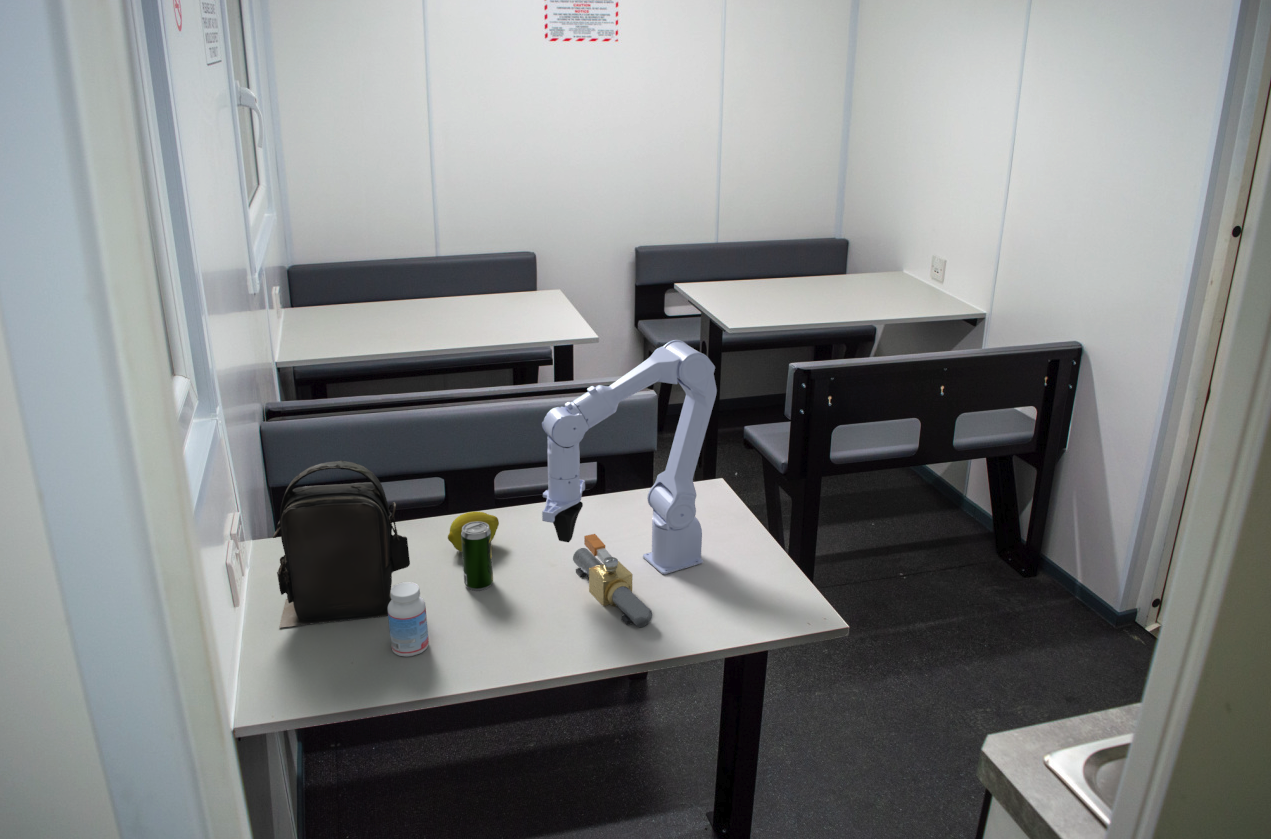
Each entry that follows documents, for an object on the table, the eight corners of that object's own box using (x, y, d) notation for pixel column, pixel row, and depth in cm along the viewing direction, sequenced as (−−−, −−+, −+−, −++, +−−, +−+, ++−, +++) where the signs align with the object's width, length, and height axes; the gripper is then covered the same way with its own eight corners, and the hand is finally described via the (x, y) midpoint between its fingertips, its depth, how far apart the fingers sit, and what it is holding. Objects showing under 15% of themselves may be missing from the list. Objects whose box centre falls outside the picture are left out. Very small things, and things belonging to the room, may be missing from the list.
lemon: (453, 564, 175) (451, 527, 172) (442, 546, 181) (440, 511, 178) (506, 552, 179) (505, 516, 176) (494, 535, 186) (492, 500, 183)
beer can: (471, 595, 164) (467, 537, 160) (459, 582, 169) (456, 525, 164) (498, 586, 167) (495, 529, 163) (486, 574, 171) (483, 518, 167)
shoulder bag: (414, 586, 167) (401, 448, 157) (414, 613, 159) (401, 470, 149) (286, 600, 162) (265, 459, 152) (279, 629, 154) (256, 481, 144)
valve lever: (620, 571, 163) (620, 560, 162) (606, 574, 162) (607, 563, 161) (596, 543, 172) (595, 533, 171) (583, 546, 171) (583, 536, 170)
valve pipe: (594, 563, 176) (594, 539, 175) (658, 624, 157) (658, 598, 155) (567, 570, 174) (567, 546, 172) (628, 634, 154) (628, 607, 152)
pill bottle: (431, 653, 148) (426, 595, 144) (393, 661, 146) (387, 602, 142) (426, 633, 153) (421, 576, 149) (389, 640, 151) (383, 582, 147)
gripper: (560, 454, 168) (561, 519, 173) (525, 485, 155) (528, 554, 160) (595, 460, 166) (595, 525, 171) (562, 492, 153) (564, 561, 158)
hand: (565, 539), depth 165 cm, fingers closed
